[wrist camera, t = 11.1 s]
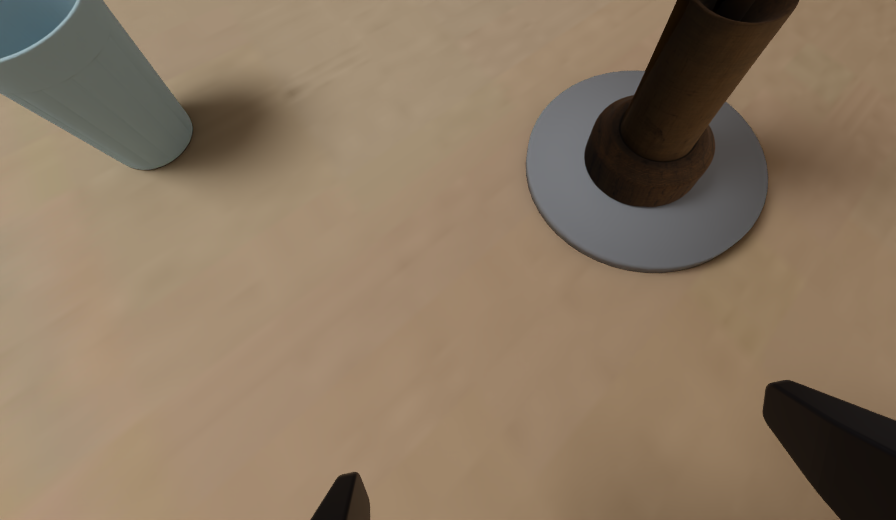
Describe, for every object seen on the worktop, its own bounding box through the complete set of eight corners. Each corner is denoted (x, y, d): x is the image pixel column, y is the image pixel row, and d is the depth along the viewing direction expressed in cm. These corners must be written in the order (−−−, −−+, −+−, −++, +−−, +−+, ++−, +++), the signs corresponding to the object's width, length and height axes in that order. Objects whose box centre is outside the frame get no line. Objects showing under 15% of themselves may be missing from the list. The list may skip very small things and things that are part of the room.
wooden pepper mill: (685, 115, 27) (1024, -403, 10) (708, 206, 24) (1201, -270, 8) (577, 121, 27) (729, -364, 10) (590, 211, 25) (810, -228, 8)
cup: (157, 81, 33) (20, -63, 23) (230, 119, 31) (114, -21, 21) (83, 155, 31) (-102, 31, 21) (156, 200, 29) (-10, 87, 19)
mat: (810, 194, 25) (822, 185, 24) (624, 318, 23) (630, 314, 22) (648, 51, 30) (654, 39, 29) (483, 145, 28) (483, 135, 27)
